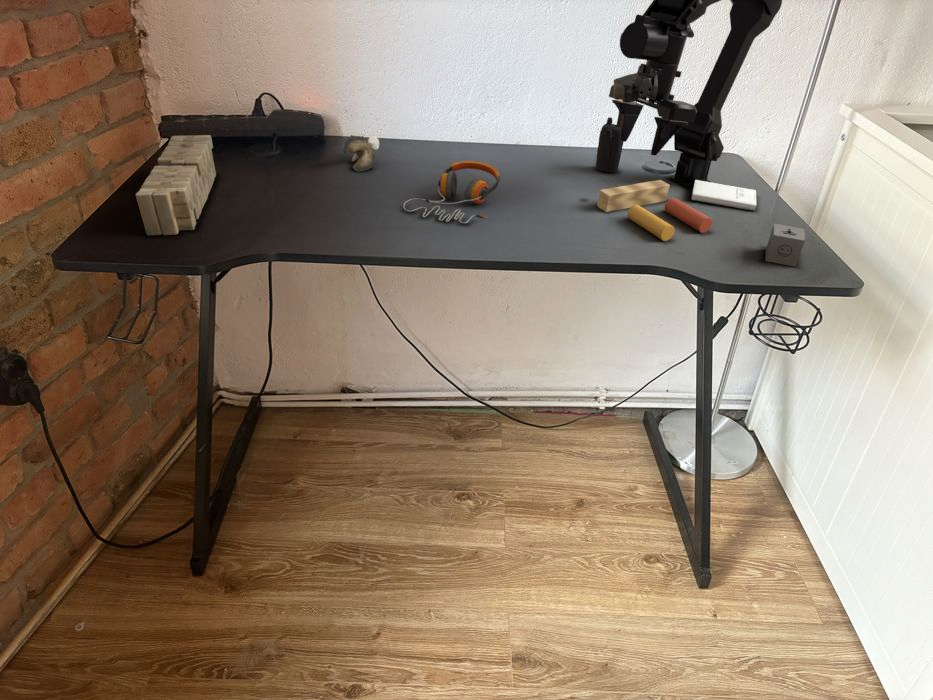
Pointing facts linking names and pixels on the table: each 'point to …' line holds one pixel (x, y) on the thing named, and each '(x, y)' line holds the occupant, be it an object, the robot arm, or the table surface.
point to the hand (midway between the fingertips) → (638, 148)
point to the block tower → (177, 186)
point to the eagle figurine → (361, 151)
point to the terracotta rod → (688, 215)
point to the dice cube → (785, 245)
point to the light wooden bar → (633, 195)
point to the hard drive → (724, 195)
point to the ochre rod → (651, 222)
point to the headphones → (474, 189)
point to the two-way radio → (609, 147)
